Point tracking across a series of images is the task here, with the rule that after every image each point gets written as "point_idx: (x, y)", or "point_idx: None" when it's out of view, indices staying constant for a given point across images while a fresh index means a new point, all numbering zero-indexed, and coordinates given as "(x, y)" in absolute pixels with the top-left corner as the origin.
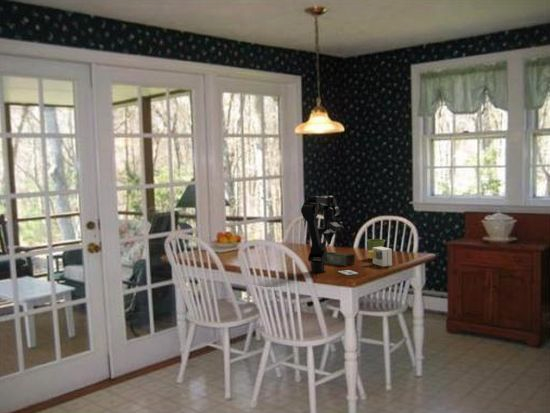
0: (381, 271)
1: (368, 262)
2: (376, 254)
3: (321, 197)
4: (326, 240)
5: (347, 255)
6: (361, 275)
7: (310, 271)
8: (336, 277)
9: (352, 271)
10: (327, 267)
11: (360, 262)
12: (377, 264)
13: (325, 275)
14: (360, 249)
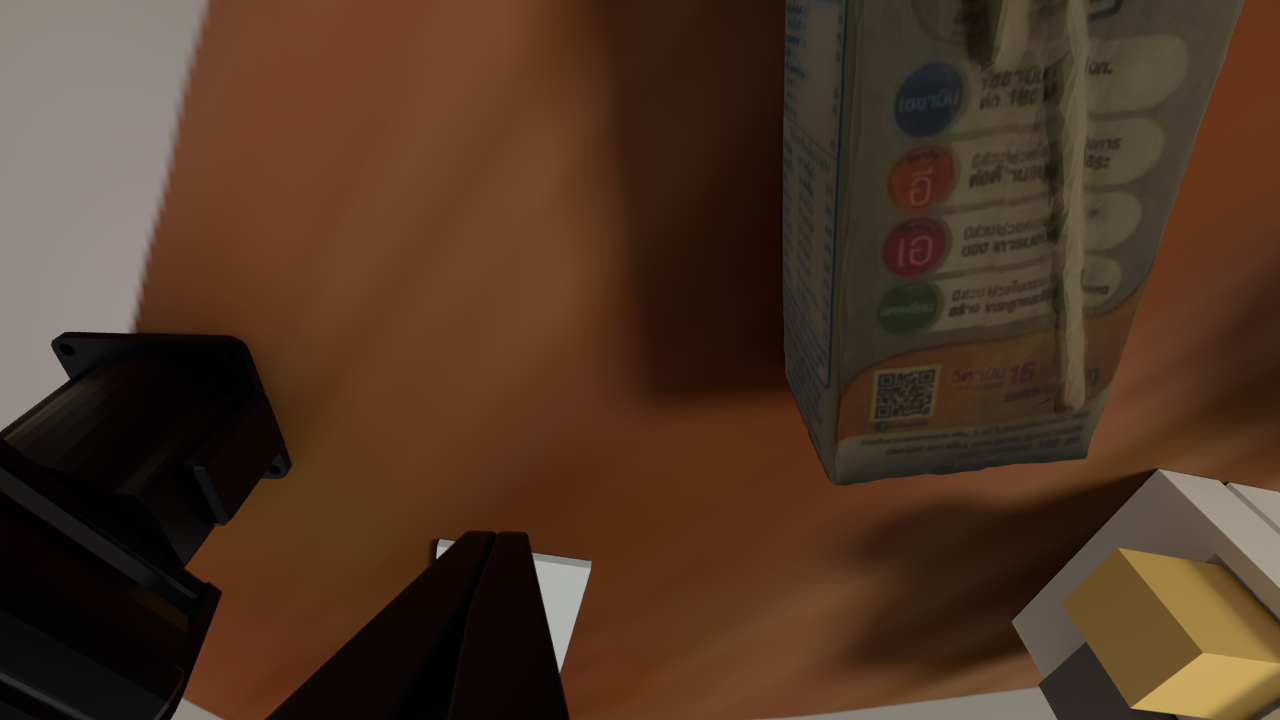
0: (783, 712)
1: (1225, 387)
2: (1118, 707)
3: None
4: (341, 659)
5: (894, 467)
6: None
7: (65, 362)
8: (290, 663)
9: (560, 626)
10: (495, 249)
11: (1184, 309)
12: (1085, 551)
13: (219, 569)
14: None
